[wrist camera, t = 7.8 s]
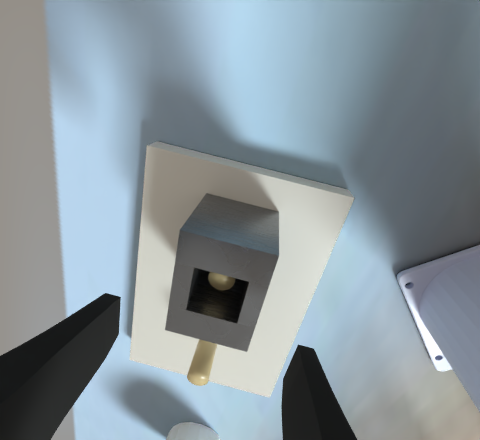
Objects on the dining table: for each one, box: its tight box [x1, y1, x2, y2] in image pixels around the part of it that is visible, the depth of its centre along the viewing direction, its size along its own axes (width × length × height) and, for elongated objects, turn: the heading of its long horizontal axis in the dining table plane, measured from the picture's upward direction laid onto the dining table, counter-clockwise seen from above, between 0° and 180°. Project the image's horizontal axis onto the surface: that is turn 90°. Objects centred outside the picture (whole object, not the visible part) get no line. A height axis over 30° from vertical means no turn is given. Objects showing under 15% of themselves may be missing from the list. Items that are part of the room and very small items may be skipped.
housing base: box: [130, 141, 354, 398], centre depth 19 cm, size 18×12×5 cm, turn 167°
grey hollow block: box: [165, 193, 279, 352], centre depth 16 cm, size 6×4×5 cm
